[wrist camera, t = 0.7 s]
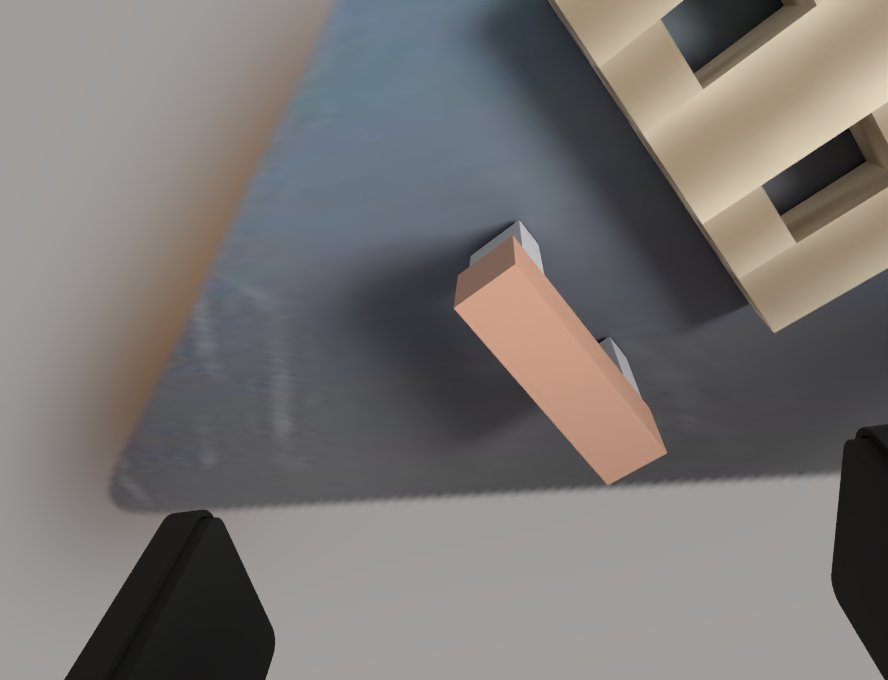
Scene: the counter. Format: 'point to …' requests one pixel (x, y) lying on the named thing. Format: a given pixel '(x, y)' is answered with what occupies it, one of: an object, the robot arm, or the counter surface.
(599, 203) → the counter surface
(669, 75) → the beige flat slotted block
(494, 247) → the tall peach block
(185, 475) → the counter surface
